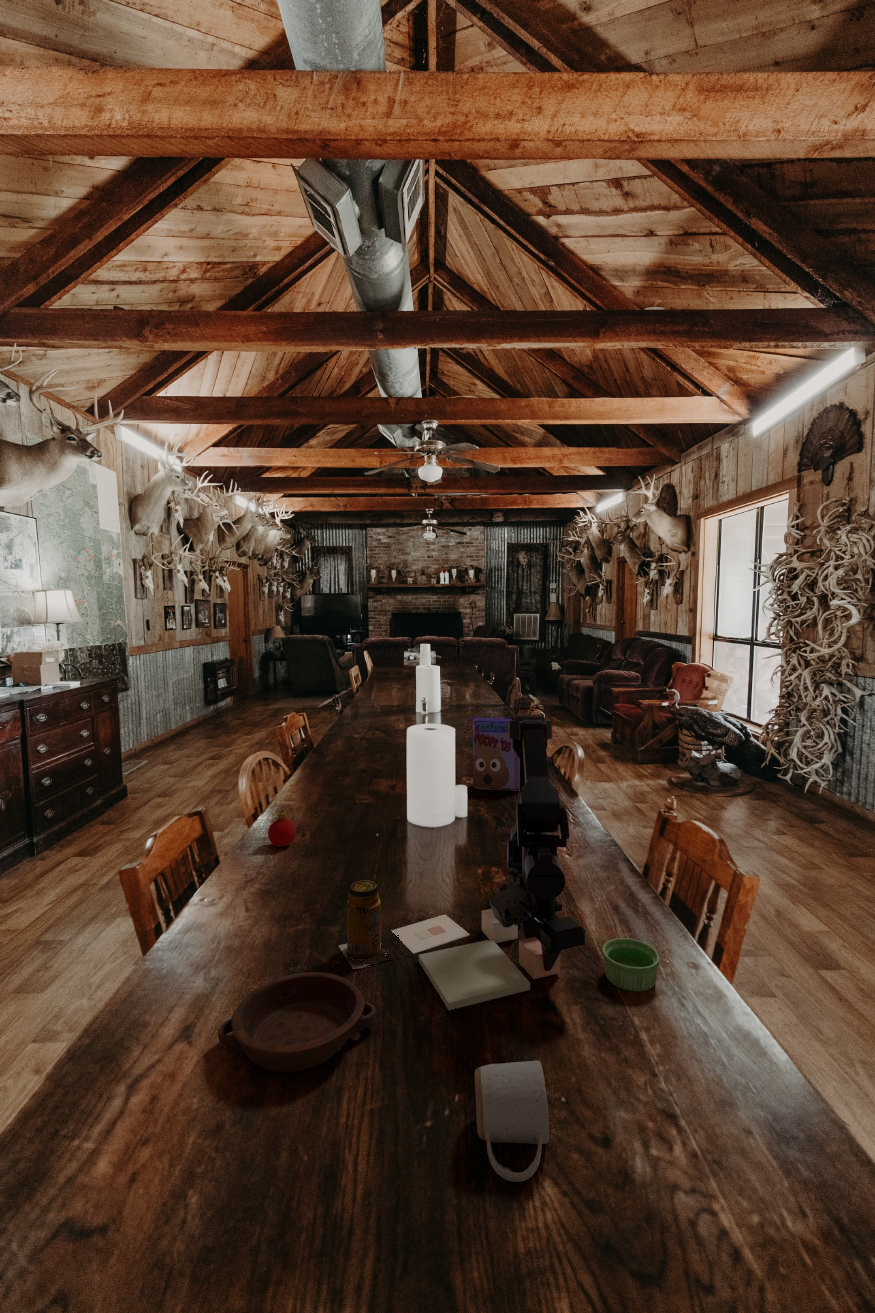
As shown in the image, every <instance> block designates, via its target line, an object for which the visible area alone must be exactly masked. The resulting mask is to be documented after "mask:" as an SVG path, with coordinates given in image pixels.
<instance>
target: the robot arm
mask: <svg viewBox="0 0 875 1313" xmlns="http://www.w3.org/2000/svg"><path fill="white" fill-rule="evenodd" d="M511 719H512V720H508V736H509V738H510V739H512V747H513V749H514V751H515V752H516V754H517V756H518V757H519V792H518V802H517V803H516V806H515V808H516V810H515V814H516V815H515V816H516V818H515V819H516V821H515V823H514V824H513V825H512V827H511V829H510V839H507V848H506V862H507V869H510V871H509V872H508V882H507V883H504V884H502V886H501V887H500V888H499V890H498V891H499V892H498V893H497V894H495V895H493V896H492V897H490V898H489V900H488V902H489V905H490V909H492V911H493V914H494V916H495V918H496V919H497V920H498V921H499V922H500V923H501V924H502V926H503V927H506V928H507V927H511V926H512V925H513V924H514V925H518V926H520V928H521V933H522V935H523V939H527V938H532V937H535V938H536V939H537V940H538V941H539V942H540V943H541V948H542V958H543V965H544V970H545V971H550V970H551V969H552V967H553V965H554V964H555V962H556V960H557V958H558V956H559V954H560V955H561V953H562V951H564V950H568V949H572V948H576V947H580V946H584V945H585V944H586V938H587V936H586V935H587V934H586V932H587V931H586V929H584V927H582V926H581V925H580V924H579V923H578V922H577V921H575V920H574V919H573V918H572V917H571V916H569V915H568V916H563V917H559V916H557V915H556V912H561V911H563V904H562V903H561V902H560V901H559V900H558V897H559V896H560V895H561V894H562V893H563V891H564V889H565V887H566V876H565V873H564V871H563V867H562V864H561V861H560V858H559V856H558V848H567V846H568V844H567V843H568V842H567V840H570V836H571V835H570V828H569V820H568V818H569V817H568V811H567V809H565V805H564V804H563V803H560V796H559V790H558V789H557V788H556V787H555V786H554V785H553V784H552V783H551V782H550V781H551V780H550V774H549V763H548V754H547V749H548V740H552V739H553V721H552V720H551V719H546V718H545V714H526V713H525V714H524V713H523V714H522V713H521V714H520V713H519V714H514V716H513V717H512V718H511ZM558 831H559V832H560V834H556V833H557V832H558ZM551 833H555V834H551Z"/></svg>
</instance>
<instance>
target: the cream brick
mask: <svg viewBox="0 0 875 1313" xmlns="http://www.w3.org/2000/svg"><path fill="white" fill-rule="evenodd" d="M518 929H519V924H518V925H514V924H513V925H512V926H511V927H507V928H506V927H503V926H502V924H501V923H500V922H499V921H498V920H497V919H496V918H495V916H494V914H493V911H492V908H488V909H483V910H481V932H482V933H483V934H484V935H485V936H486V937H487V938H488V940H490V939H492V940H493V941H494V942H495V943H496V944H498V943H503V942H508V941H513V940H517V939H518V937H519V935H518V934H519V933H518Z"/></svg>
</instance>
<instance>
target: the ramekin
mask: <svg viewBox="0 0 875 1313" xmlns="http://www.w3.org/2000/svg"><path fill="white" fill-rule="evenodd" d="M602 956H603V963H604V964H603V965H604V974H605V977H606V978H607V980H608V981H609V982H610V983H611V984H612V985H614V986H615V987H617V988H619V989H621V990H625V991H628V992H645V991H647V990H650V989H652V988H653V987H654V986H655V984H656V982H657V973H658V966H659V963H660V955H659V952H658V951H657V950H656V949H655V948H654V947H653V946H651V945H650V944H648V943H647V942H644V941H641V940H638V939H633V938H627V937H626V938H624V937H619V938H613V939H610V940H607V941H606V942H604V944H603V946H602Z"/></svg>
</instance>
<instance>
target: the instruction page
mask: <svg viewBox="0 0 875 1313" xmlns="http://www.w3.org/2000/svg"><path fill="white" fill-rule="evenodd" d="M391 931H392V932H391V933H392V934H393V933H394V934H395V935H396V936H397V935H399V936H397V937H399V939H400V940H399V939H398V940H399V942H401V941H402V942H401V944H403V945H404V947H406V949H407V950H409V951H410V952H411V953H412V954H413V955H415V954H418V953H421V952H424V951H427V950H430V949H433V948H435V947H440V946H442V945H445V944H449V943H451V942H454V941H457V940H460V939H464V938H466V937H469V936H471V934H470V933H468V931H466V930H465V929H464V928H463V927H461V926H460V925H459V924H457V922H455V921H454V920H453V919H452V918H450V917H449V916H448V915H446V914H442V915H439V916H435V917H432V918H429V919H428V918H427V919H424V920H422V921H418V922H416V923H412V924H409V925H405V926H402V927H398V928H395V929H393V930H392V929H391ZM394 934H393V935H394ZM395 935H394V936H395ZM396 936H395V937H396ZM397 937H396V938H397Z"/></svg>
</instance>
